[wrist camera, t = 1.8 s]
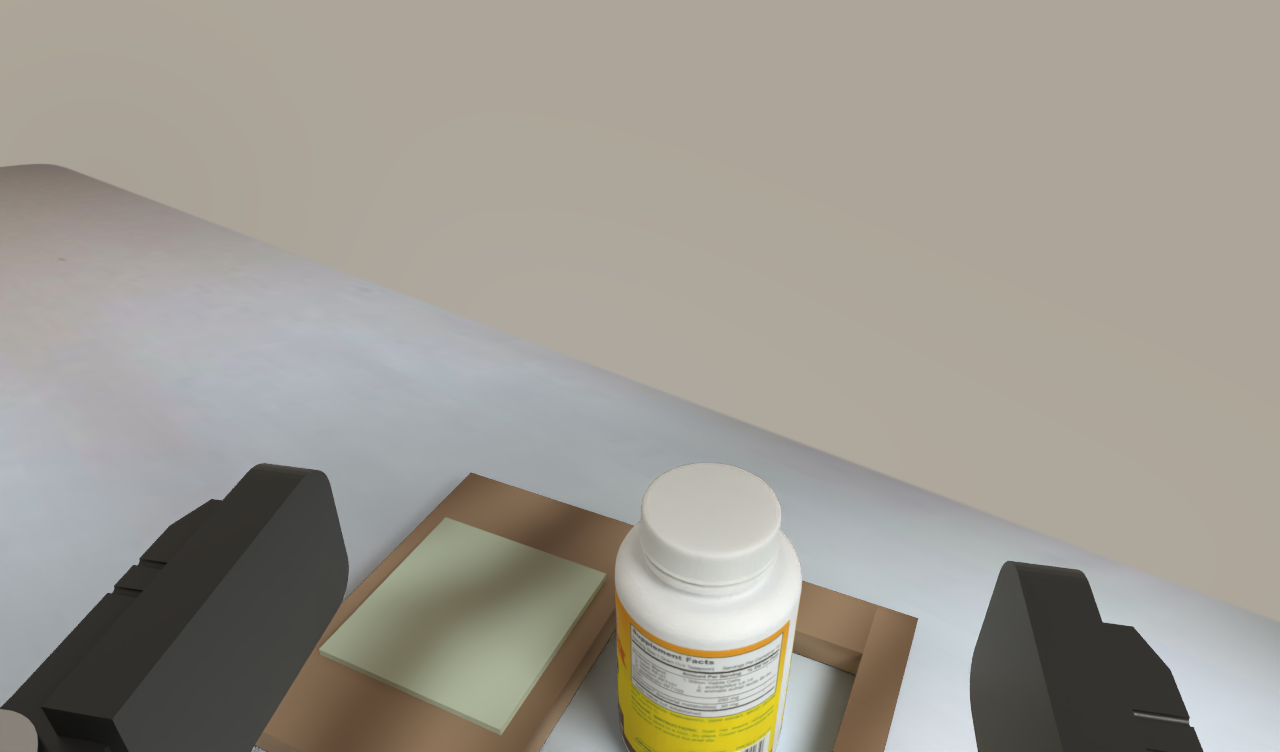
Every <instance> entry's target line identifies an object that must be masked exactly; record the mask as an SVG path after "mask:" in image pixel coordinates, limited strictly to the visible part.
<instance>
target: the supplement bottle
mask: <svg viewBox="0 0 1280 752" xmlns="http://www.w3.org/2000/svg"><path fill="white" fill-rule="evenodd" d="M780 527H781V507H780V503H779V501H778V498H777V497H776V495H775V493H774V492H773V491H772V489H771V488H770V487H769V486H768V485H767V484H766V483H765V482H764V481H762V480H761V479H760V478H759V477H757V476H755V475H753V474H751V473H750V472H748V471H745V470H743V469H741V468H738V467H734V466H730V465H725V464H719V463H694V464H688V465H684V466H680V467H677V468H674V469H672V470H670V471H667V472H665V473H664V474H662V475H661V476H659V477H658V478H657V479H655V480H654V481H653V482H652V483H651V484H650V486H649V487H648V489H647V490H646V493H645V494H644V497H643V501H642V507H641V521H639V522H638V523H637V524H636V525H635V526H634V527H633V528H632V529H631V530H630V531H629V533H628V534H627V535H626V537H625V539H624V540H623V542H622V544H621V546H620V548H619V551H618V554H617V557H616V564H615V604H616V633H617V667H618V708H619V723H620V730H621V734H622V739H623V741H624V744H625V746H626V748H627V750H628V752H775V751H776V748H777V745H778V742H779V738H780V732H781V727H782V721H783V713H784V707H785V699H786V693H787V686H788V679H789V672H790V665H791V658H792V651H793V644H794V637H795V630H796V623H797V617H798V610H799V603H800V597H801V588H802V573H801V566H800V562H799V559H798V556H797V554H796V552H795V549H794V547H793V546H792V544H791V543H790V541H789V539H788V538H787V537H786V536H785V534H784V533H783V532H782V531H781V530H780Z"/></svg>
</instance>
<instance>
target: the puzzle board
mask: <svg viewBox="0 0 1280 752" xmlns="http://www.w3.org/2000/svg"><path fill="white" fill-rule="evenodd" d="M633 527H634V526H633V525H630V524H627V523H624V522H621V521H618V520H615V519H612V518H609V517H605V516H602V515H599V514H596V513H593V512H590V511H587V510H584V509H581V508H578V507H575V506H572V505H569V504H566V503H563V502H559V501H556V500H553V499H550V498H547V497H544V496H541V495H538V494H535V493H532V492H529V491H526V490H523V489H520V488H517V487H513V486H510V485H507V484H504V483H501V482H498V481H495V480H492V479H489V478H486V477H483V476H480V475H477V474H474V473H470V474H469V475H468V476H467V477H466V478H465V479H464V480H463V481H462V482H461V483H460V484H459V485H458V486H457V487H456V488H455V489H454V490H453V491H452V492H451V493H450V494H449V495H448V496H447V497H446V498H445V499H444V500H443V501H442V502H441V503H440V504H439V506H438V507H437V508H436V509H435V510H434V511H433V512H432V513H431V514H430V515H429V516H428V517H427V518H426V519H425V520H424V521H423V522H422V523H421V524H420V525H419V526H418V527H417V528H416V529H415V530H414V531H413V532H412V533H411V534H410V535H409V536H408V537H407V538H406V539H405V540H404V541H403V542H402V543H401V544H400V545H399V546H398V547H397V548H396V549H395V550H394V551H393V552H392V553H391V554H390V555H389V556H388V557H387V558H386V559H385V560H384V561H383V562H382V563H381V564H380V565H379V566H378V567H377V568H376V569H375V570H374V571H373V572H372V573H371V574H370V575H369V576H368V577H367V578H366V579H365V580H364V581H363V582H362V583H361V584H360V586H359V587H358V588H357V589H356V590H355V591H354V592H353V593H352V594H351V595H350V596H349V597H348V598H347V599H346V600H345V601H344V602H343V603H342V604H341V605H340V607H339V609H338V610H337V612H336V614H335V616H334V617H333V619H332V620H331V622H330V624H329V625H328V627H327V629H326V630H325V632H324V633H323V635H322V637H321V638H320V640H319V642H318V643H317V645H316V646H315V648H314V650H313V651H312V653H311V655H310V656H309V658H308V659H307V661H306V663H305V664H304V666H303V668H302V669H301V671H300V672H299V674H298V676H297V677H296V679H295V681H294V682H293V684H292V685H291V687H290V689H289V690H288V692H287V694H286V695H285V697H284V698H283V700H282V702H281V703H280V705H279V707H278V708H277V710H276V711H275V713H274V715H273V716H272V718H271V720H270V721H269V723H268V724H267V726H266V728H265V729H264V731H263V733H262V734H261V736H260V737H259V739H258V741H257V742H256V744H255V746H257V747H259V748H261V749H263V750H265V751H267V752H539V751H540V749H541V748H542V746H543V745H544V743H545V741H546V740H547V738H548V736H549V735H550V733H551V732H552V730H553V728H554V727H555V725H556V724H557V722H558V720H559V719H560V717H561V716H562V714H563V712H564V711H565V709H566V708H567V706H568V704H569V703H570V701H571V700H572V698H573V696H574V695H575V693H576V692H577V690H578V688H579V687H580V685H581V683H582V682H583V680H584V679H585V677H586V675H587V674H588V672H589V671H590V669H591V667H592V666H593V664H594V663H595V661H596V659H597V658H598V656H599V655H600V653H601V651H602V650H603V648H604V647H605V645H606V643H607V642H608V640H609V639H610V637H611V635H612V634H613V632H614V630H615V629H616V604H615V564H616V557H617V554H618V551H619V548H620V546H621V544H622V542H623V540H624V539H625V537H626V535H627V534H628V533H629V531H630V530H631V529H632V528H633ZM917 621H918V618H915V617H912V616H909V615H906V614H903V613H900V612H897V611H894V610H891V609H888V608H885V607H882V606H878V605H875V604H872V603H869V602H866V601H863V600H860V599H857V598H854V597H851V596H848V595H845V594H842V593H839V592H836V591H832V590H829V589H826V588H823V587H820V586H817V585H814V584H811V583H808V582H805V581H802V588H801V597H800V603H799V610H798V617H797V623H796V630H795V637H794V644H793V651H792V652H794V653H797V654H799V655H802V656H805V657H808V658H811V659H813V660H816V661H819V662H822V663H825V664H827V665H830V666H833V667H836V668H839V669H841V670H844V671H847V672H850V673H853V674H855V675H856V677H855V681H854V684H853V687H852V690H851V693H850V697H849V700H848V703H847V706H846V710H845V713H844V716H843V719H842V722H841V726H840V729H839V732H838V735H837V738H836V742H835V745H834V748H833V751H832V752H884V750H885V746H886V742H887V738H888V734H889V730H890V726H891V722H892V718H893V714H894V711H895V707H896V703H897V699H898V695H899V691H900V687H901V683H902V679H903V675H904V672H905V668H906V664H907V660H908V656H909V652H910V648H911V644H912V640H913V636H914V633H915V629H916V625H917Z"/></svg>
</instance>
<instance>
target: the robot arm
mask: <svg viewBox="0 0 1280 752" xmlns="http://www.w3.org/2000/svg"><path fill="white" fill-rule="evenodd" d="M348 572H349V565H348V557H347V553H346V548H345V544H344V540H343V536H342V532H341V528H340V523H339V519H338V515H337V511H336V507H335V502H334V498H333V494H332V490H331V486H330V483H329V480H328V478H327V476H326V475H325V474H324V473H323V472H322V471H319V470H313V469H305V468H297V467H289V466H281V465H273V464H266V463H263V464H258V465H256V466H254V467H253V468H251V469H250V470H249V471H248V472H247V473H246V475H245V476H244V477H243V478H242V479H241V480H240V481H239V483H238V484H237V485H236V486H235V487H234V488H233V489H232V490H231V492H230V493H229V494H228V495H227V496H226V497H225V498H224V500H223V501H222V500H215V499H211V500H210V501H208V502H206V503H205V504H203V505H202V506H200V507H199V508H197V509H195V510H194V511H192V512H191V513H189V514H187V515H186V516H184V517H183V518H181V519H180V520H178V521H176V522H175V523H173V524H172V525H170V526H169V527H168V528H167V529H166V530H165V532H164V533H163V534H162V535H161V536H160V537H159V538H158V539H157V540H156V541H155V542H154V543H153V544H152V546H151V547H150V548H149V549H148V550H147V551H146V552H145V553H144V554H143V555H142V556H141V557H140V562H139V564H138V565H137V566H136V565H133V566H132V567H131V568H130V569H129V570H128V571H127V573H126V574H125V575H124V576H123V577H122V578H121V579H120V580H119V581H118V582H117V583H116V584H115V586H114V591H113V593H112V594H111V593H107V594H106V595H105V596H104V597H103V599H102V600H101V601H100V602H99V603H98V604H97V605H96V606H95V607H94V608H93V609H92V610H91V611H90V613H89V614H88V615H87V616H86V617H85V618H84V619H83V620H82V621H81V622H80V623H79V624H78V626H77V627H76V628H75V629H74V630H73V631H72V632H71V633H70V634H69V635H68V636H67V637H66V638H65V640H64V641H63V642H62V643H61V644H60V645H59V646H58V647H57V648H56V649H55V650H54V651H53V653H52V654H51V655H50V656H49V657H48V658H47V659H46V660H45V661H44V662H43V663H42V664H41V665H40V667H39V668H38V669H37V670H36V671H35V672H34V673H33V674H32V675H31V676H30V677H29V678H28V680H27V681H26V682H25V683H24V684H23V685H22V686H21V687H20V688H19V689H18V690H17V691H16V693H15V694H14V695H13V696H12V697H11V698H10V699H9V700H8V701H7V702H6V703H5V704H4V705H3V706H2V707H1V708H0V752H251V750H252V749H253V747H254V746H255V744H256V742H257V741H258V739H259V737H260V736H261V734H262V733H263V731H264V729H265V728H266V726H267V724H268V723H269V721H270V720H271V718H272V716H273V715H274V713H275V711H276V710H277V708H278V707H279V705H280V703H281V702H282V700H283V698H284V697H285V695H286V694H287V692H288V690H289V689H290V687H291V685H292V684H293V682H294V681H295V679H296V677H297V676H298V674H299V672H300V671H301V669H302V668H303V666H304V664H305V663H306V661H307V659H308V658H309V656H310V655H311V653H312V651H313V650H314V648H315V646H316V645H317V643H318V642H319V640H320V638H321V637H322V635H323V633H324V632H325V630H326V629H327V627H328V625H329V624H330V622H331V620H332V619H333V617H334V616H335V614H336V612H337V610H338V609H339V607H340V605H341V602H342V600H343V597H344V594H345V590H346V587H347V581H348ZM970 703H971V711H972V718H973V724H974V730H975V736H976V742H977V748H978V752H1203V749H1202V747H1201V744H1200V742H1199V740H1198V737H1197V735H1196V732H1195V730H1194V727H1190V725H1189V718H1190V717H1189V715H1188V712H1187V710H1186V707H1185V705H1184V702H1183V700H1182V697H1181V695H1180V692H1179V690H1178V688H1177V685H1176V683H1175V680H1174V678H1173V675H1172V673H1171V670H1170V669H1169V668H1168V667H1167V665H1166V664H1165V663H1164V662H1163V661H1162V660H1161V659H1160V657H1159V656H1158V655H1157V654H1156V653H1155V652H1154V650H1153V649H1152V648H1151V647H1150V646H1149V645H1148V644H1147V642H1146V641H1145V640H1144V639H1143V638H1142V637H1141V635H1140V634H1139V633H1138V632H1137V631H1136V630H1135V629H1134V627H1132V626H1125V625H1117V624H1110V623H1103V622H1102V620H1101V617H1100V614H1099V611H1098V608H1097V605H1096V602H1095V599H1094V596H1093V593H1092V590H1091V588H1090V585H1089V582H1088V580H1087V578H1086V576H1085V574H1084V573H1083V572H1082V571H1080V570H1076V569H1068V568H1060V567H1052V566H1045V565H1037V564H1029V563H1021V562H1013V561H1007V562H1006V563H1005V564H1004V565H1003V566H1002V568H1001V570H1000V573H999V576H998V579H997V582H996V585H995V588H994V591H993V594H992V597H991V600H990V603H989V607H988V610H987V613H986V616H985V619H984V622H983V625H982V628H981V631H980V634H979V637H978V640H977V643H976V646H975V650H974V653H973V658H972V664H971V673H970Z"/></svg>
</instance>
